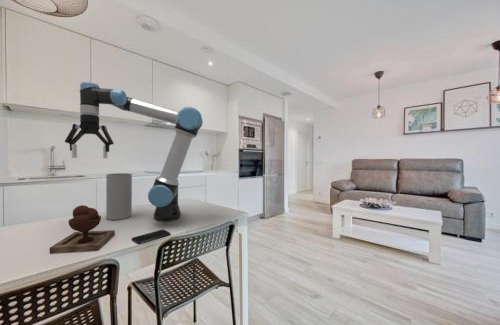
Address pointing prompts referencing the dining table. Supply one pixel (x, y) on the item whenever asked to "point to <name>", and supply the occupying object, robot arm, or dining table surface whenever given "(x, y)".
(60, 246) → the walnut tray
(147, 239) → the phone
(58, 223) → the dining table surface
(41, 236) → the dining table surface
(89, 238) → the ice cream bowl
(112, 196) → the cylinder vase
